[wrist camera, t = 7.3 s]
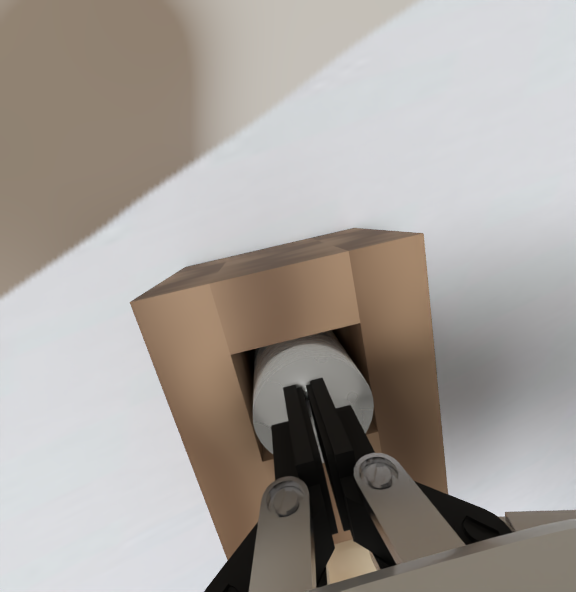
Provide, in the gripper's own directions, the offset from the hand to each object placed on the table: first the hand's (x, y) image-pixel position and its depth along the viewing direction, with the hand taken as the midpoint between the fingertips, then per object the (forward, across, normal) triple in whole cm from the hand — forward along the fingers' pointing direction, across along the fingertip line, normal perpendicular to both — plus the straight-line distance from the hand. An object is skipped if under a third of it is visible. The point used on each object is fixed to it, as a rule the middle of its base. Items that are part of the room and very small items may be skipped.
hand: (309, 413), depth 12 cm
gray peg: (+9, 0, 0) cm, 9 cm away
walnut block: (+10, 0, +6) cm, 12 cm away
